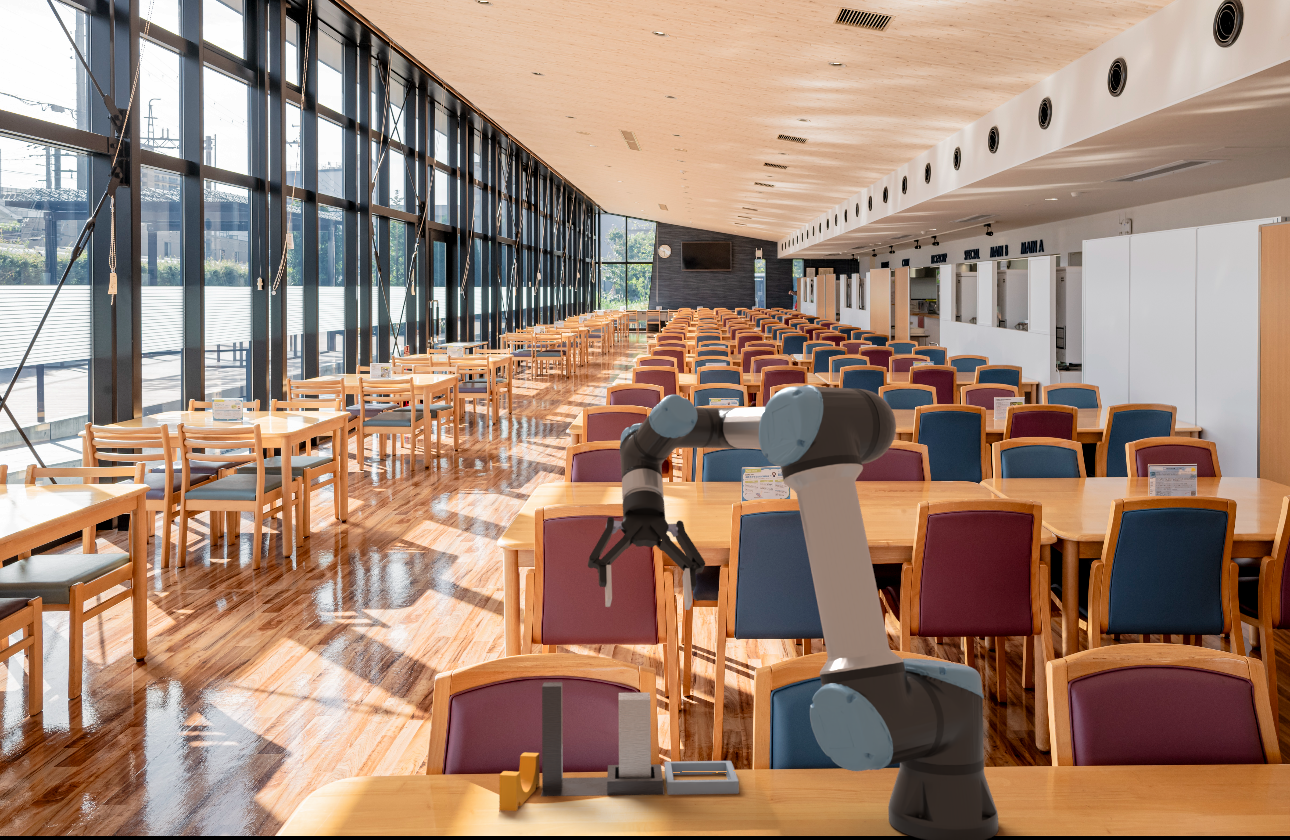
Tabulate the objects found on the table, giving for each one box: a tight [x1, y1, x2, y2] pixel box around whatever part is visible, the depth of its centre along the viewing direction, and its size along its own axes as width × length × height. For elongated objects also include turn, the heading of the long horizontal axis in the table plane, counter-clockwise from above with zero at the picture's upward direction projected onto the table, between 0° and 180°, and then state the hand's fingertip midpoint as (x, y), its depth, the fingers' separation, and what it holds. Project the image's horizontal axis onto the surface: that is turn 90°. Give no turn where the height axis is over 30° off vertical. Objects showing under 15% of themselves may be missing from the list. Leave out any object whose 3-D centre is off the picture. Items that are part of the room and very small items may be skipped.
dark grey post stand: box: [540, 681, 665, 797], centre depth 160 cm, size 19×9×17 cm, turn 91°
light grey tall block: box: [618, 691, 652, 779], centre depth 161 cm, size 5×5×14 cm
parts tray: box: [664, 760, 740, 796], centre depth 161 cm, size 11×11×3 cm
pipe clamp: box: [498, 751, 540, 813], centre depth 155 cm, size 12×4×6 cm, turn 169°
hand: (649, 604), depth 170 cm, fingers open, 13 cm apart
